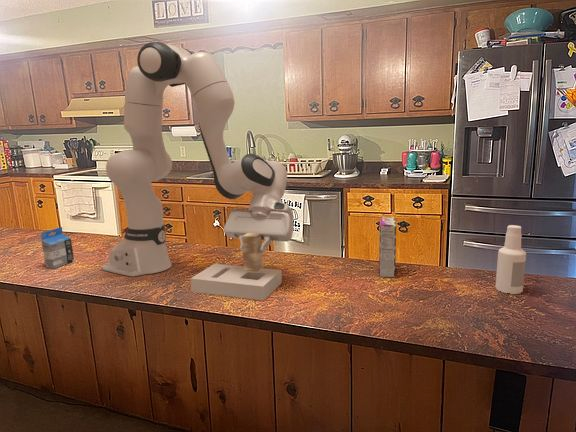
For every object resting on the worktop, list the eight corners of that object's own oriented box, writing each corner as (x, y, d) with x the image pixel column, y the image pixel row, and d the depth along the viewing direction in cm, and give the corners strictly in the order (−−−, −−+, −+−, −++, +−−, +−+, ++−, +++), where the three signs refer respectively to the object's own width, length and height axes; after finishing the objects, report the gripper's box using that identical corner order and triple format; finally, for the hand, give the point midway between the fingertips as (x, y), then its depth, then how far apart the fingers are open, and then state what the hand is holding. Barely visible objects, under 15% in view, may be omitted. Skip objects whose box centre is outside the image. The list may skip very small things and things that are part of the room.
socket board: (191, 291, 127) (190, 278, 126) (215, 275, 140) (214, 263, 139) (263, 300, 120) (263, 286, 119) (281, 283, 133) (281, 270, 132)
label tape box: (53, 269, 149) (49, 233, 147) (44, 268, 151) (39, 232, 148) (74, 261, 157) (70, 227, 155) (65, 260, 159) (61, 226, 156)
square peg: (243, 270, 126) (242, 235, 124) (249, 266, 129) (248, 232, 127) (257, 271, 124) (255, 236, 122) (262, 267, 128) (261, 233, 126)
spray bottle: (524, 295, 120) (530, 230, 116) (496, 292, 122) (501, 228, 119) (521, 287, 126) (526, 224, 123) (494, 284, 129) (499, 222, 125)
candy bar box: (378, 266, 147) (379, 216, 144) (394, 266, 146) (395, 217, 143) (378, 277, 136) (379, 224, 133) (395, 278, 135) (397, 224, 132)
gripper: (228, 202, 133) (214, 243, 126) (293, 205, 126) (282, 248, 119) (235, 214, 138) (222, 254, 131) (298, 217, 132) (288, 259, 124)
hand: (251, 251), depth 125 cm, fingers closed on square peg, 4 cm apart
